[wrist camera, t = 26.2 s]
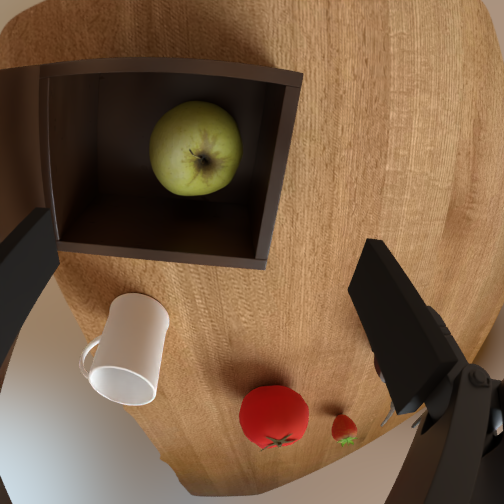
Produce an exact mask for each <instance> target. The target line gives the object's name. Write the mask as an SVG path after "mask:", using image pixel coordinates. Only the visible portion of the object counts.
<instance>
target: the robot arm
mask: <svg viewBox="0 0 504 504" xmlns="http://www.w3.org/2000/svg"><path fill="white" fill-rule="evenodd" d="M59 264H60V262H59V257H58V252H57V247H56V241H55V235H54V229H53V223H52V217H51V210H50V208H41V207H36V208H35V209H33V210H32V211H31V212H30V213H29V214H28V215H27V216H26V217H25V218H24V219H23V220H22V221H21V222H20V223H19V224H18V225H17V226H16V228H15V229H14V230H13V231H12V232H11V233H10V234H9V235H8V236H7V237H6V238H5V239H4V240H3V241H2V242H1V244H0V368H1V366H2V364H3V362H4V360H5V358H6V356H7V354H8V352H9V350H10V348H11V346H12V344H13V342H14V340H15V338H16V336H17V335H18V333H19V331H20V329H21V327H22V325H23V323H24V322H25V320H26V318H27V316H28V315H29V313H30V311H31V309H32V308H33V306H34V304H35V302H36V301H37V299H38V297H39V296H40V294H41V293H42V291H43V289H44V288H45V286H46V284H47V283H48V281H49V280H50V278H51V276H52V275H53V273H54V272H55V270H56V269H57V267H58V266H59ZM348 292H349V295H350V297H351V299H352V302H353V304H354V306H355V309H356V311H357V313H358V316H359V318H360V320H361V323H362V325H363V328H364V330H365V332H366V335H367V337H368V340H369V342H370V345H371V347H372V350H373V352H374V355H375V357H376V360H377V362H378V365H379V367H380V370H381V373H382V375H383V378H384V380H385V383H386V386H387V388H388V391H389V394H390V397H391V399H392V402H393V405H394V408H395V410H396V413H397V415H401V414H406V413H412V412H415V411H416V410H417V409H418V408H419V407H420V406H421V405H422V404H423V403H425V405H426V407H427V410H426V411H425V412H424V413H423V414H422V415H421V416H420V417H419V418H418V419H417V420H416V421H415V422H414V424H413V425H412V428H414V427H415V426H416V425H417V424H418V423H419V426H418V429H417V431H416V434H415V437H414V439H413V442H412V444H411V447H410V449H409V452H408V454H407V457H406V459H405V461H404V463H403V466H402V468H401V470H400V472H399V475H398V477H397V479H396V481H395V483H394V485H393V487H392V490H391V491H390V494H389V496H388V497H387V499H386V501H385V503H384V504H504V379H503V380H502V381H500V380H493V379H491V378H490V376H489V374H488V373H487V372H486V371H485V370H484V369H483V368H481V367H480V366H478V365H476V364H469V363H468V362H467V360H466V358H465V356H464V355H463V353H462V351H461V349H460V348H459V346H458V344H457V343H456V341H455V339H454V338H453V336H452V335H451V333H450V331H449V329H448V328H447V327H446V324H445V323H444V321H443V320H442V318H441V316H440V315H439V314H438V313H437V312H436V311H435V310H434V309H433V308H432V307H431V306H426V304H425V303H424V301H423V299H422V298H421V296H420V295H419V293H418V292H417V290H416V289H415V287H414V286H413V284H412V283H411V281H410V280H409V278H408V277H407V275H406V274H405V272H404V271H403V269H402V268H401V266H400V265H399V263H398V262H397V260H396V259H395V257H394V256H393V255H392V253H391V252H390V250H389V249H388V248H387V246H386V245H385V243H384V242H383V241H382V240H377V239H369V238H367V239H366V242H365V245H364V248H363V251H362V253H361V256H360V259H359V261H358V264H357V267H356V269H355V272H354V275H353V277H352V280H351V282H350V285H349V287H348ZM502 424H503V431H502V432H501V433H500V434H499V435H497V431H496V429H497V428H498V427H499V426H501V425H502ZM0 504H12V502H11V500H10V497H9V495H8V493H7V491H6V489H5V486H4V484H3V481H2V479H1V477H0Z"/></svg>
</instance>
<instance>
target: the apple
mask: <svg viewBox="0 0 504 504" xmlns="http://www.w3.org/2000/svg"><path fill="white" fill-rule="evenodd" d="M149 156H150V162H151V166H152V169H153V171H154V173H155V175H156V177H157V179H158V180H159V181H160V183H161V184H162V185H163V186H164V187H165V188H166V189H168V190H169V191H170V192H172V193H174V194H177V195H183V196H197V195H205V194H209V193H212V192H215V191H217V190H219V189H221V188H223V187H225V186H226V185H228V184H229V183H230V182H231V181H232V179H233V178H234V176H235V173H236V171H237V168H238V166H239V164H240V162H241V159H242V156H243V143H242V139H241V135H240V131H239V128H238V125H237V123H236V121H235V120H234V118H233V117H232V116H231V115H230V114H229V113H228V112H227V111H225V110H224V109H223V108H221V107H220V106H218V105H216V104H213V103H209V102H203V101H188V102H184V103H181V104H180V105H178V106H176V107H174V108H173V109H171V110H169V111H168V112H167V113H165V114H164V115H163V116H162V117H161V118H160V120H159V121H158V122H157V124H156V125H155V127H154V129H153V132H152V134H151V137H150V144H149Z"/></svg>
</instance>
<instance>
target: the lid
mask: <svg viewBox="0 0 504 504" xmlns="http://www.w3.org/2000/svg"><path fill="white" fill-rule="evenodd" d="M39 75H40V65H32V66H23V67H15V68H8V69H1V70H0V244H1V242H2V241H3V240H4V239H5V238H6V237H7V236H8V235H9V234H10V233H11V232H12V231H13V230H14V229H15V228H16V226H17V225H18V224H19V223H20V222H21V221H22V220H23V219H24V218H25V217H26V216H27V215H28V214H29V213H30V212H31V211H32V210H33V209H35V208H36V207H41V208H46V207H45V200H44V191H43V182H42V172H41V159H40V143H39ZM20 330H21V329H20ZM19 332H20V331H19ZM18 335H19V333H18ZM18 335H17V336H16V338H15V340H14V342H13V344H12V346H11V348H10V350H9V352H8V354H7V356H6V358H5V360H4V362H3V364H2V366H1V368H0V392H1V389H2V384H3V381H4V378H5V374H6V371H7V368H8V364H9V362H10V358H11V355H12V352H13V349H14V346H15V343H16V340H17V338H18Z"/></svg>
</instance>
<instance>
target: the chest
mask: <svg viewBox="0 0 504 504" xmlns="http://www.w3.org/2000/svg"><path fill="white" fill-rule="evenodd" d="M302 80H303V73H300V72H295V71H289V70H284V69H278V68H272V67H266V66H259V65H252V64H244V63H236V62H227V61H217V60H205V59H190V58H167V57H123V58H100V59H86V60H75V61H65V62H57V63H49V64H42V65H40V75H39V143H40V159H41V172H42V182H43V191H44V200H45V207H46V208H50V210H51V217H52V223H53V229H54V235H55V241H56V247H57V251H66V252H75V253H85V254H94V255H104V256H114V257H124V258H134V259H145V260H155V261H166V262H177V263H188V264H199V265H210V266H221V267H233V268H245V269H257V270H265V269H266V264H267V259H268V255H269V250H270V245H271V240H272V235H273V230H274V225H275V220H276V215H277V210H278V205H279V200H280V195H281V190H282V185H283V180H284V175H285V169H286V164H287V159H288V154H289V149H290V144H291V138H292V133H293V128H294V122H295V117H296V112H297V106H298V101H299V96H300V90H301V85H302ZM188 101H203V102H209V103H213V104H216V105H218V106H220V107H221V108H223V109H224V110H225V111H227V112H228V113H229V114H230V115H231V116H232V117H233V118H234V120H235V121H236V123H237V125H238V128H239V131H240V135H241V139H242V143H243V156H242V159H241V162H240V164H239V166H238V168H237V171H236V173H235V176H234V178H233V179H232V181H231V182H230V183H229V184H228V185H226V186H225V187H223V188H221V189H219V190H217V191H215V192H212V193H209V194H205V195H197V196H183V195H177V194H174V193H172V192H170V191H169V190H168V189H166V188H165V187H164V186H163V185H162V184H161V183H160V181H159V180H158V179H157V177H156V175H155V173H154V171H153V169H152V166H151V162H150V156H149V144H150V137H151V134H152V132H153V129H154V127H155V125H156V124H157V122H158V121H159V120H160V118H161V117H162V116H163V115H164V114H165V113H167V112H168V111H169V110H171V109H173V108H174V107H176V106H178V105H180V104H181V103H184V102H188Z"/></svg>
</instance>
